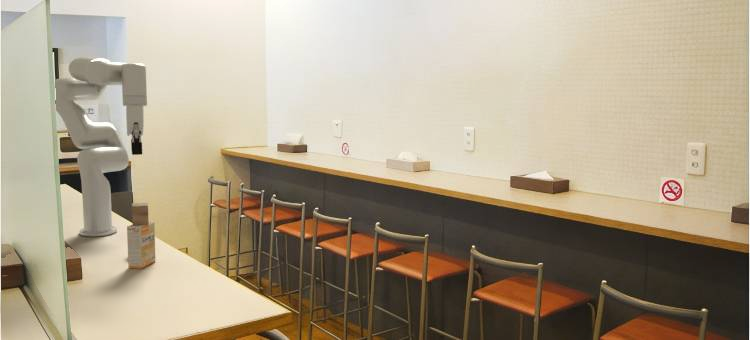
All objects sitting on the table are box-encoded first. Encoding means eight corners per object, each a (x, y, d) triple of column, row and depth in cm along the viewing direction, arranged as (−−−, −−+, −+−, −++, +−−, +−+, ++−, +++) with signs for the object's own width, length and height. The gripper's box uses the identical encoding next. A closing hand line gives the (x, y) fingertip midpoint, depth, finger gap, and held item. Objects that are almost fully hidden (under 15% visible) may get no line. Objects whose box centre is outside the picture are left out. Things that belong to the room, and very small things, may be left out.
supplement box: (142, 269, 194) (140, 227, 192) (127, 268, 195) (126, 226, 193) (156, 261, 202) (155, 221, 200) (142, 260, 203) (141, 220, 201)
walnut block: (132, 222, 198) (131, 203, 197) (148, 221, 199) (147, 202, 199) (132, 225, 194) (132, 206, 193) (148, 224, 195) (147, 205, 194)
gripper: (122, 99, 218) (124, 149, 220) (122, 102, 202) (124, 156, 205) (146, 99, 221) (147, 149, 223) (147, 102, 205) (149, 155, 207)
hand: (136, 152), depth 214 cm, fingers open, 9 cm apart
